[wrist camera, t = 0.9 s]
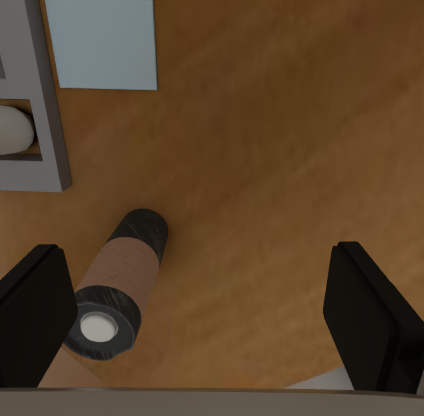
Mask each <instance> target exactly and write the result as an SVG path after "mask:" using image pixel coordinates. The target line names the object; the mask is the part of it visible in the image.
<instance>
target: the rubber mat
mask: <svg viewBox="0 0 424 416" xmlns="http://www.w3.org/2000/svg"><path fill="white" fill-rule="evenodd" d="M45 3H46V9H47V15H48V21H49V26H50V32H51V38H52V44H53V50H54V55H55V61H56V67H57V73H58V78H59V84H60V88H97V89H134V90H158V83H157V63H156V42H155V22H154V1H153V0H45Z"/></svg>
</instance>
